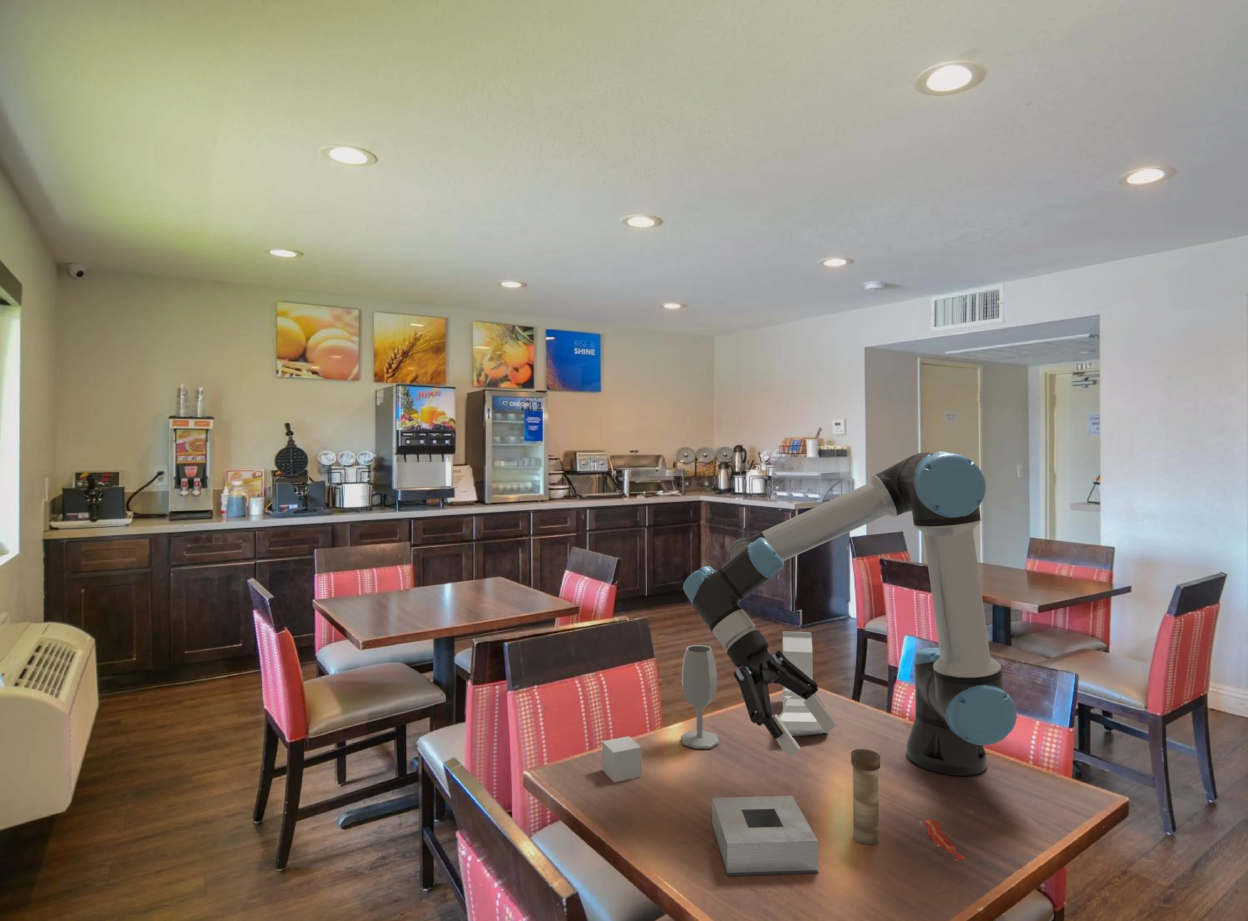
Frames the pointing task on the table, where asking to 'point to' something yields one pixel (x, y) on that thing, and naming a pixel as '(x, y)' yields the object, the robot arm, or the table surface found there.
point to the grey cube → (621, 759)
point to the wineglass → (699, 692)
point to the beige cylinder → (865, 796)
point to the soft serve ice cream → (798, 715)
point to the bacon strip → (941, 838)
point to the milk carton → (799, 651)
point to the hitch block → (763, 836)
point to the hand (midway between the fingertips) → (814, 740)
